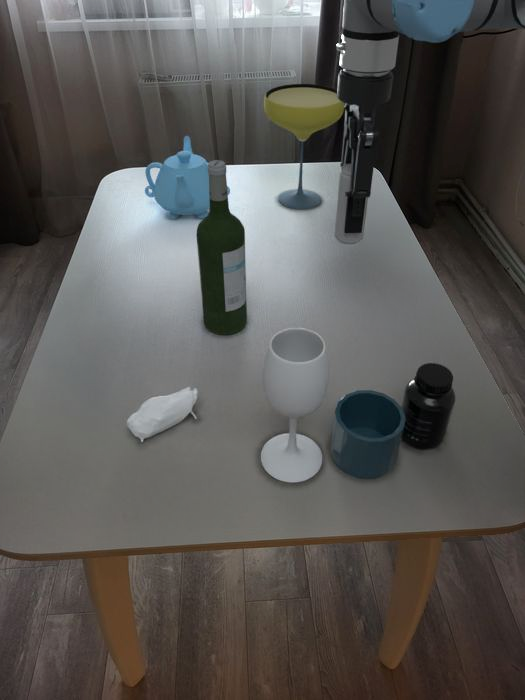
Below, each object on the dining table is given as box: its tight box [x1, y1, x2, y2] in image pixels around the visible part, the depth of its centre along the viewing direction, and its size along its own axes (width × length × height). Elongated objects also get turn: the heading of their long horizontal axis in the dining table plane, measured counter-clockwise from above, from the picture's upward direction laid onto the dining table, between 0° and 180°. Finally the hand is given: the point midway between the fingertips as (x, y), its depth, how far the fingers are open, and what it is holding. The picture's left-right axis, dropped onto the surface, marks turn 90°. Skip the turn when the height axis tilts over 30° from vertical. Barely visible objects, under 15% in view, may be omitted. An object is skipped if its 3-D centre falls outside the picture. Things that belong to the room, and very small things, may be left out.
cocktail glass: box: [263, 83, 346, 210], centre depth 132 cm, size 18×18×25 cm
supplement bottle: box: [400, 362, 456, 450], centre depth 78 cm, size 7×7×12 cm
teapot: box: [144, 135, 231, 220], centre depth 132 cm, size 16×20×14 cm
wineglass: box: [260, 327, 330, 484], centre depth 72 cm, size 9×9×21 cm
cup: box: [330, 389, 406, 480], centre depth 77 cm, size 9×9×8 cm
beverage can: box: [334, 164, 369, 245], centre depth 89 cm, size 5×5×12 cm
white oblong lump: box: [126, 386, 199, 443], centre depth 82 cm, size 5×7×10 cm
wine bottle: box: [195, 159, 248, 336], centre depth 92 cm, size 8×8×30 cm
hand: (350, 223), depth 91 cm, fingers closed on beverage can, 5 cm apart
